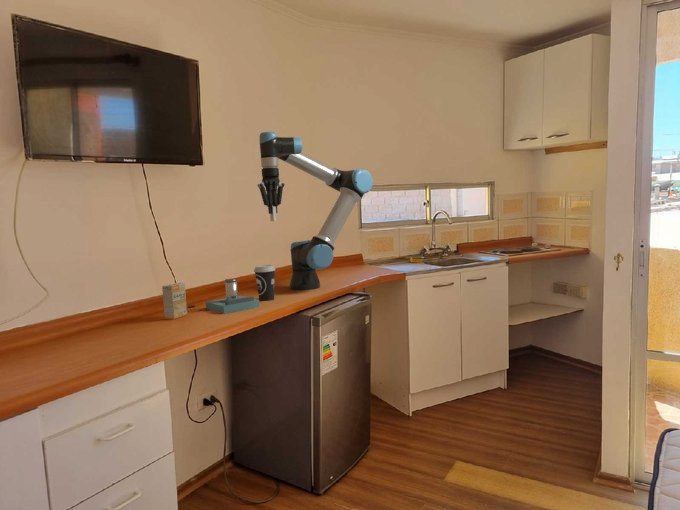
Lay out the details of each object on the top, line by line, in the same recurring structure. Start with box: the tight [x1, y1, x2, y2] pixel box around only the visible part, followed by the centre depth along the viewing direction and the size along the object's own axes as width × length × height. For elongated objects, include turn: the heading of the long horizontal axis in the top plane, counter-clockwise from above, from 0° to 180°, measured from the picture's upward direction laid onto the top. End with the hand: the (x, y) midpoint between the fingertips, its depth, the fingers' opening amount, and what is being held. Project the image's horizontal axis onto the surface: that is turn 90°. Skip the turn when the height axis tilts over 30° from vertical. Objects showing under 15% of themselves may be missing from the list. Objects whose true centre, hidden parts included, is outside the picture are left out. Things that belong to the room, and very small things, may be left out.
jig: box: [205, 295, 260, 314], centre depth 216 cm, size 16×16×5 cm
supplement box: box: [161, 282, 188, 320], centre depth 203 cm, size 8×5×13 cm, turn 160°
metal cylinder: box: [224, 277, 239, 301], centre depth 216 cm, size 5×5×12 cm
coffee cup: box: [253, 264, 276, 302], centre depth 231 cm, size 10×10×15 cm
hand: (273, 221), depth 233 cm, fingers closed
